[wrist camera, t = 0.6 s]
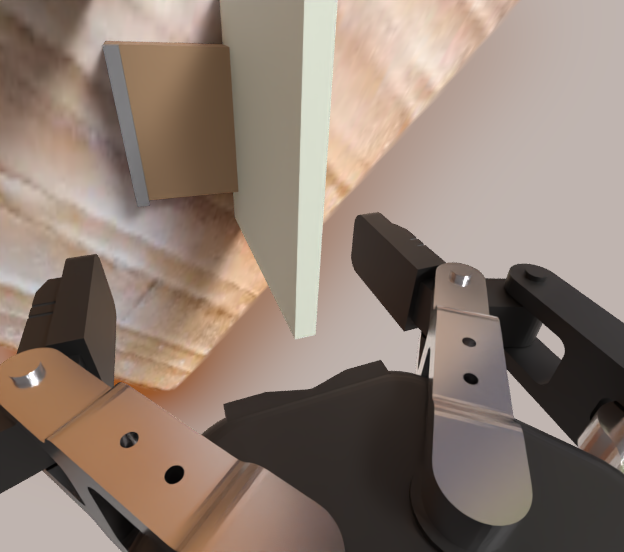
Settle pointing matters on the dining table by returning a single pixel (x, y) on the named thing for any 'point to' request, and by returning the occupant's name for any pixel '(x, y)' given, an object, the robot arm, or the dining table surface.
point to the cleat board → (240, 131)
